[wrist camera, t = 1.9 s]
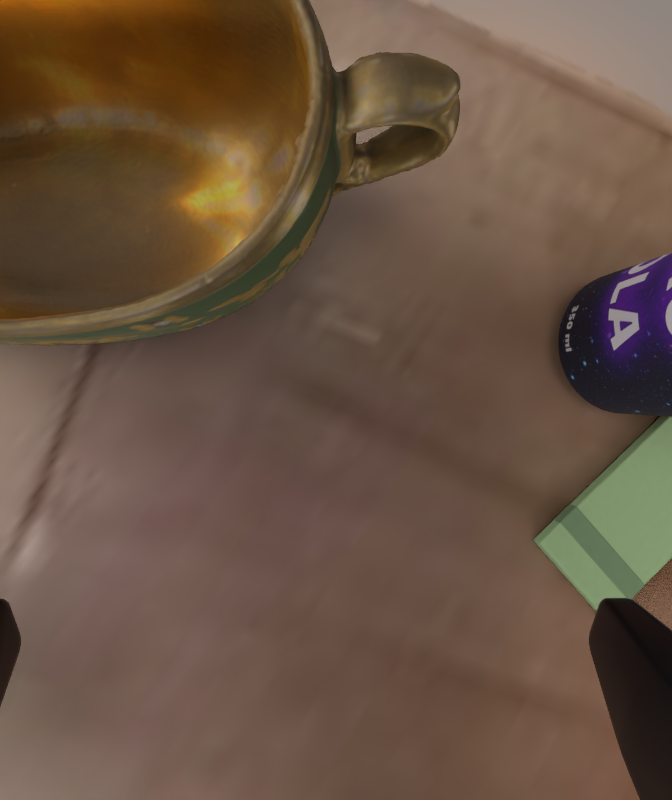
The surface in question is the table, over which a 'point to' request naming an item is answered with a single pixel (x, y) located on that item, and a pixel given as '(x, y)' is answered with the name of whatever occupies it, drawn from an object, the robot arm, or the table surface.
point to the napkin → (618, 522)
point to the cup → (183, 156)
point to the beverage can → (622, 340)
